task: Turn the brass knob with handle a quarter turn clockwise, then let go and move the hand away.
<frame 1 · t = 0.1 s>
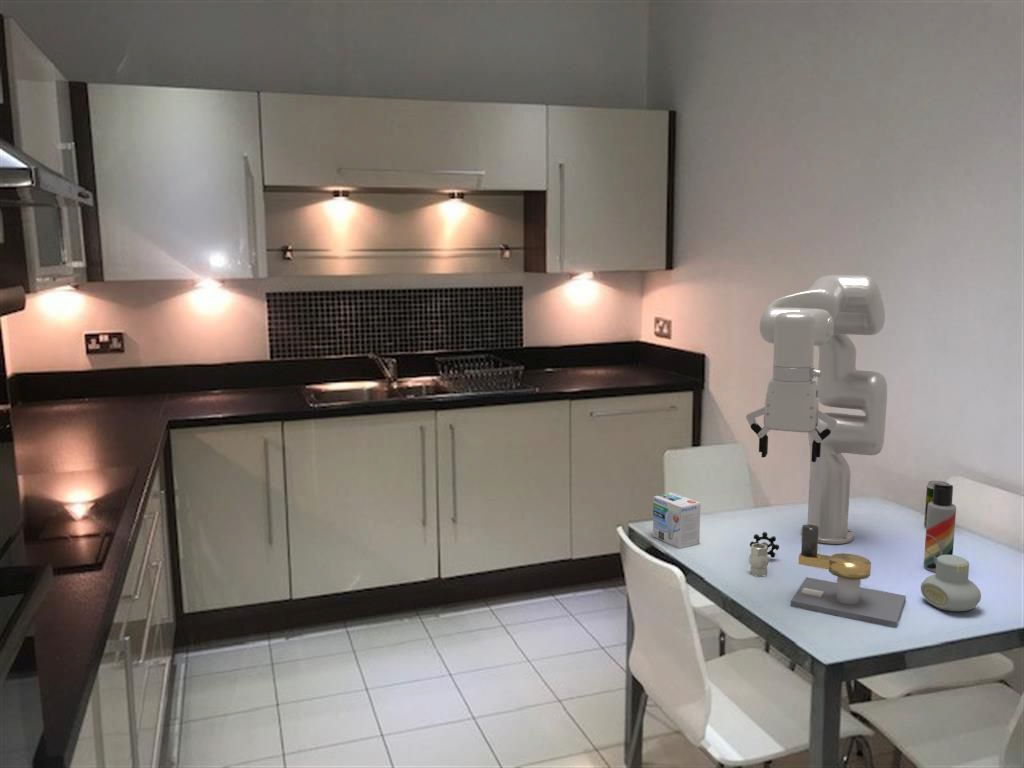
hand: (789, 458, 172), 31 cm above the table, fingers open, 9 cm apart
post base: (848, 603, 176), on the table
valve: (760, 568, 196), on the table
lotion bottle: (937, 569, 193), on the table
brass knob with handle: (835, 550, 175), point 11 cm above the table, hinge at 0.0°
light bulb box: (675, 541, 214), on the table
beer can: (935, 529, 219), on the table
air freshener: (949, 606, 175), on the table
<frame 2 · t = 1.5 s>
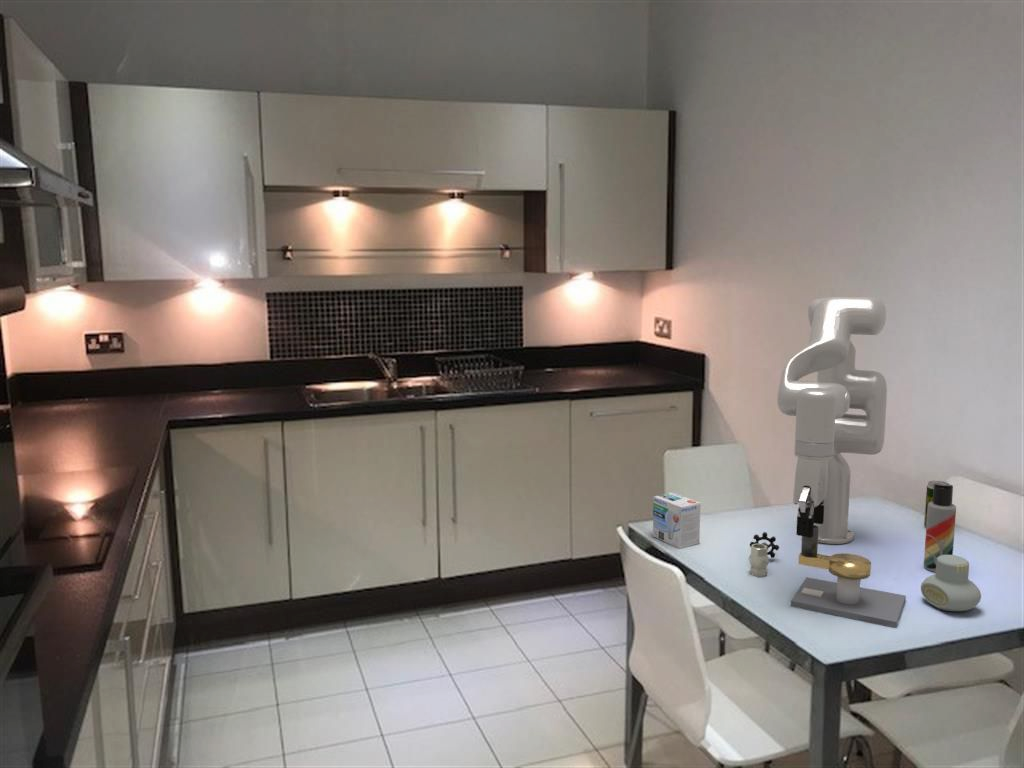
hand: (810, 529, 176), 15 cm above the table, fingers open, 9 cm apart
nothing on the table moved.
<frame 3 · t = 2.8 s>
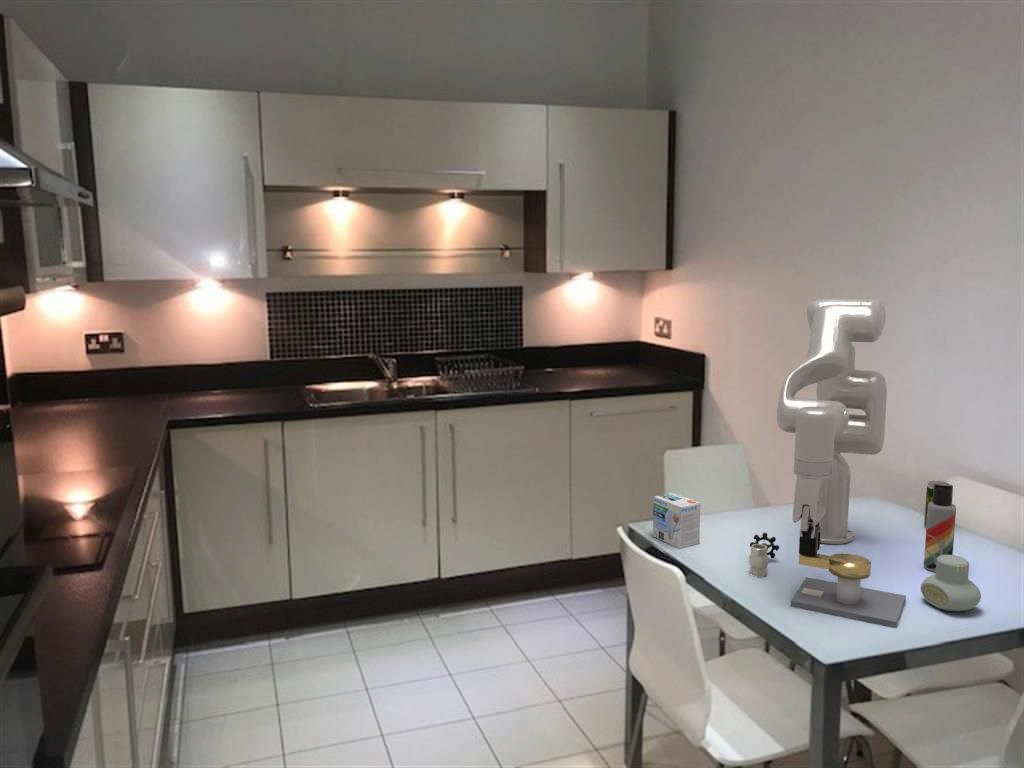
hand: (809, 551, 178), 10 cm above the table, fingers closed on brass knob with handle, 3 cm apart
brass knob with handle: (835, 550, 175), point 11 cm above the table, hinge at 0.0°, touching gripper
everything else where it was.
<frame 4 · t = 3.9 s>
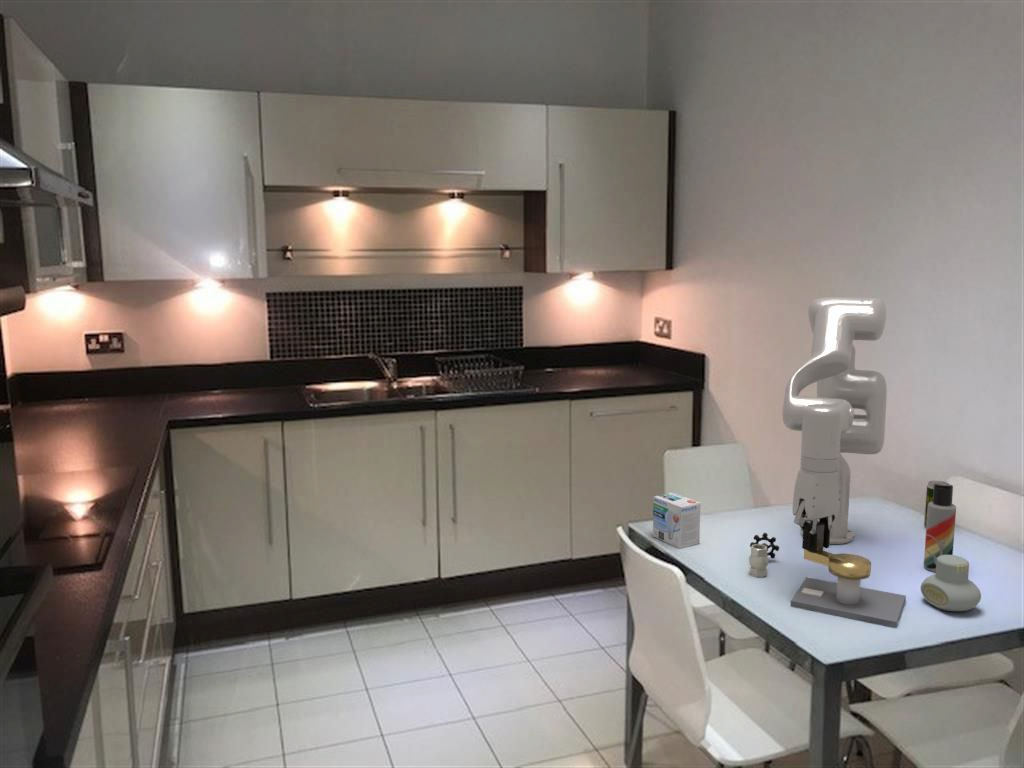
hand: (815, 547, 180), 10 cm above the table, fingers closed on brass knob with handle, 3 cm apart
brass knob with handle: (837, 548, 176), point 11 cm above the table, hinge at 21.7°, touching gripper
everything else where it was.
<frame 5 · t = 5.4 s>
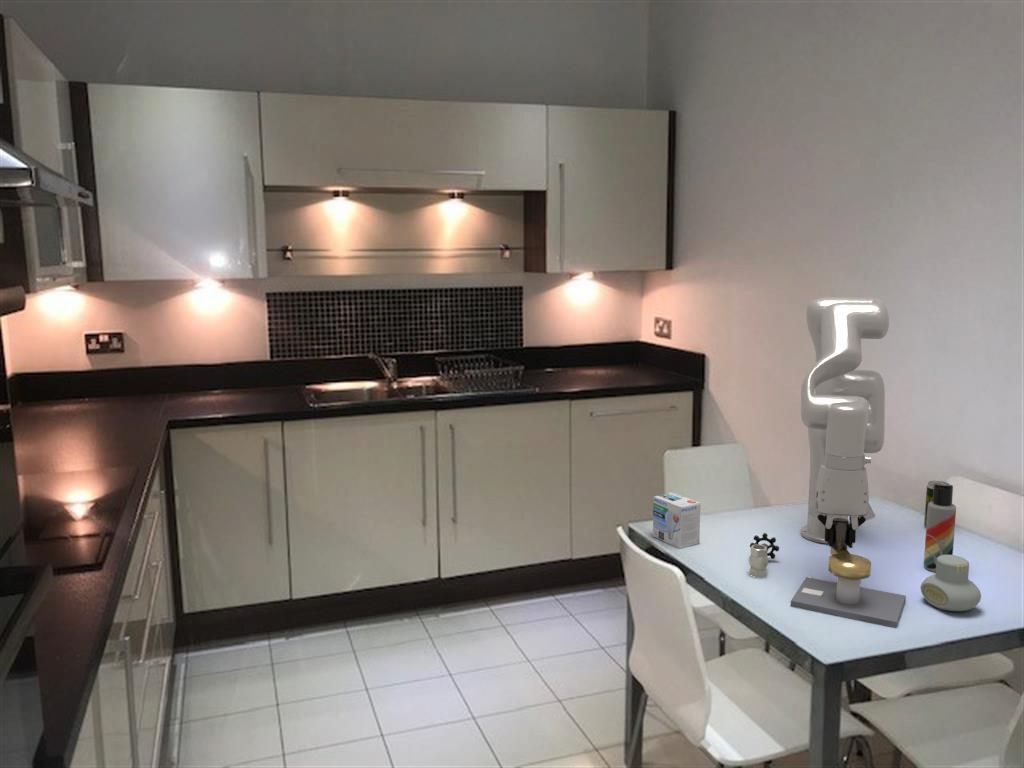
hand: (839, 544, 181), 10 cm above the table, fingers closed on brass knob with handle, 3 cm apart
brass knob with handle: (846, 547, 176), point 11 cm above the table, hinge at 65.0°, touching gripper
everything else where it was.
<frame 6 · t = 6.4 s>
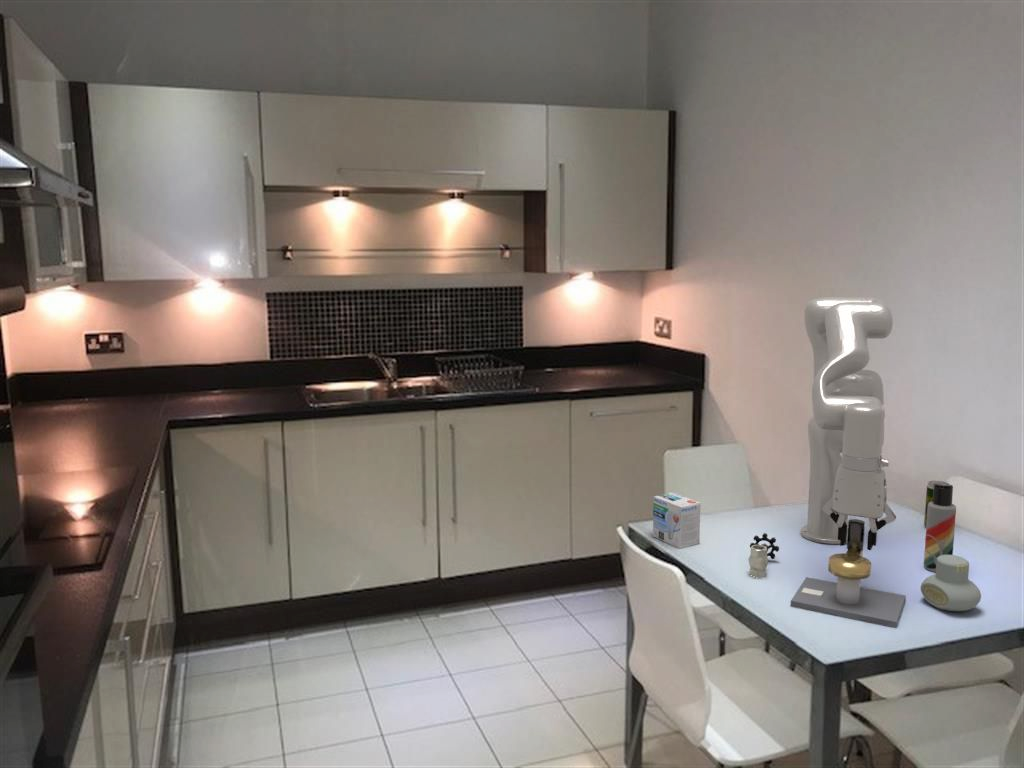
hand: (856, 545, 180), 10 cm above the table, fingers open, 4 cm apart
brass knob with handle: (852, 548, 176), point 11 cm above the table, hinge at 87.6°
everything else where it was.
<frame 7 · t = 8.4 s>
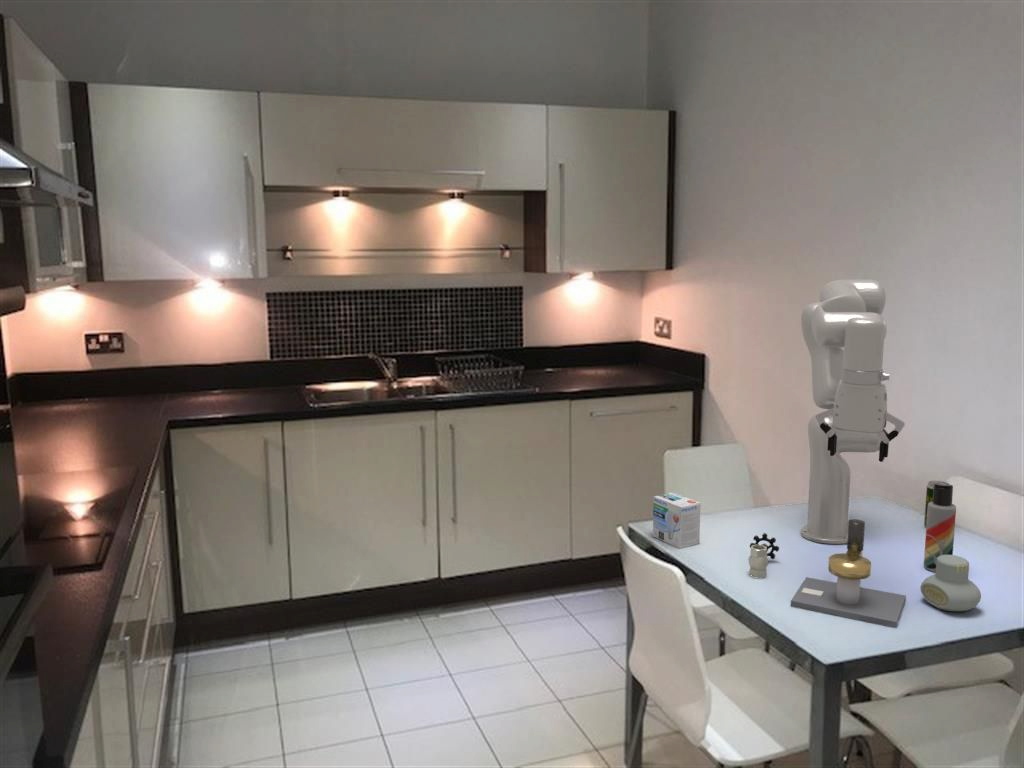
hand: (857, 457, 179), 29 cm above the table, fingers open, 9 cm apart
nothing on the table moved.
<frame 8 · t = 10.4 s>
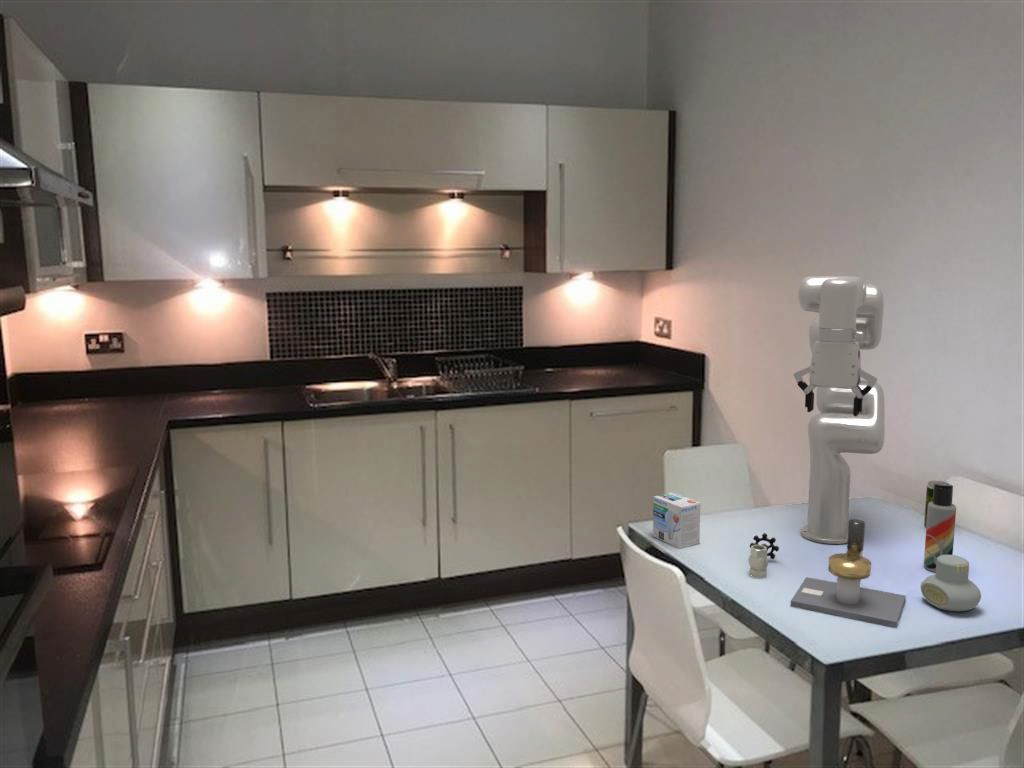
hand: (832, 412, 188), 36 cm above the table, fingers open, 9 cm apart
nothing on the table moved.
at the end: brass knob with handle at +88° (first picture: +0°); the gripper is holding nothing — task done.
